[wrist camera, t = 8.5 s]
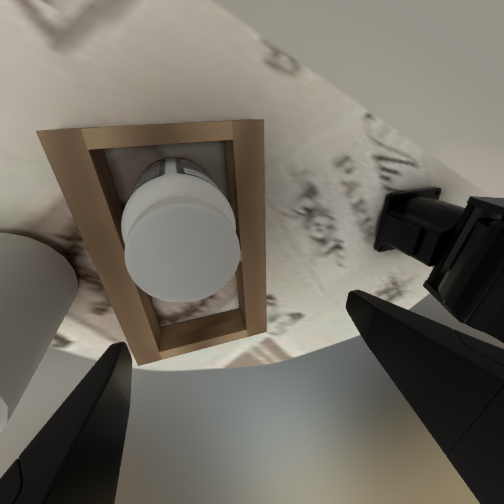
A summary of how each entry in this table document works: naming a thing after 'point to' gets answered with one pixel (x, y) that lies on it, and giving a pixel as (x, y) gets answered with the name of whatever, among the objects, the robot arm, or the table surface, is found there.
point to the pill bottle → (179, 233)
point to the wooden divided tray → (111, 240)
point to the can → (28, 311)
